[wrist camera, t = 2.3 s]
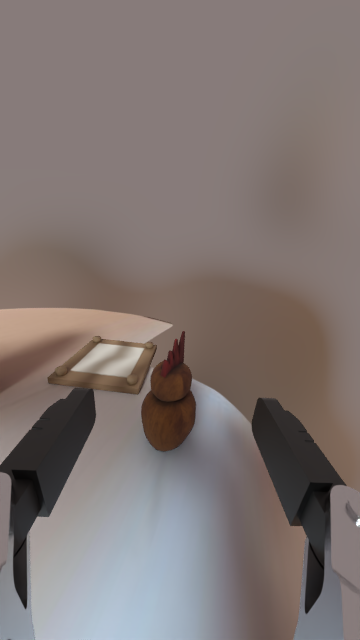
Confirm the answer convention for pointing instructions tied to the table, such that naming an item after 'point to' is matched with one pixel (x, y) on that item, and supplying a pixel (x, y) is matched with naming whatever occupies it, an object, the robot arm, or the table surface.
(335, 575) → the robot arm
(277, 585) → the table surface
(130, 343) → the base plate
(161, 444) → the wooden figurine
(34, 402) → the table surface
